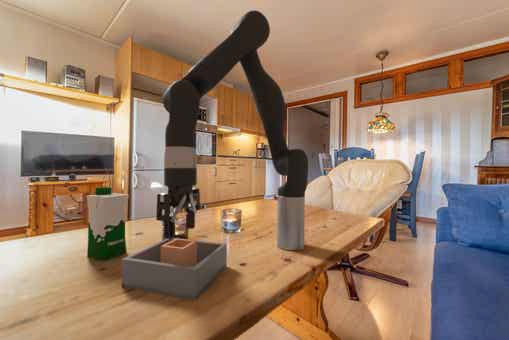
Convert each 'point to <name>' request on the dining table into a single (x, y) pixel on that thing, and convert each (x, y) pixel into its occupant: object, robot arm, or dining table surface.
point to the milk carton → (106, 224)
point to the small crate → (180, 252)
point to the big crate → (174, 271)
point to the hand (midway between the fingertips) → (180, 232)
